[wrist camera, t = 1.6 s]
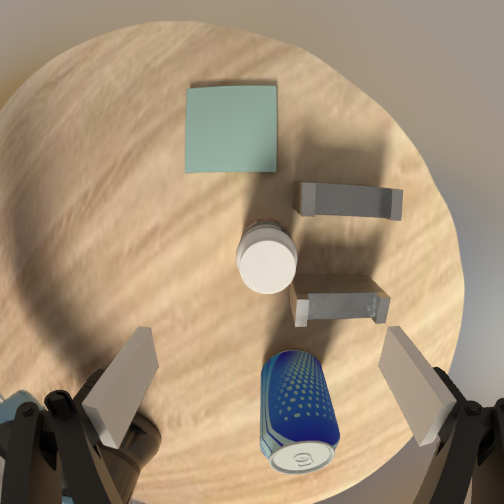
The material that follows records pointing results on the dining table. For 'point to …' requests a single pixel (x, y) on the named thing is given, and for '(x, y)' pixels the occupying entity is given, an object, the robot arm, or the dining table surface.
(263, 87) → the coaster
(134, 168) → the dining table surface
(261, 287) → the pill bottle
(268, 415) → the beer can
